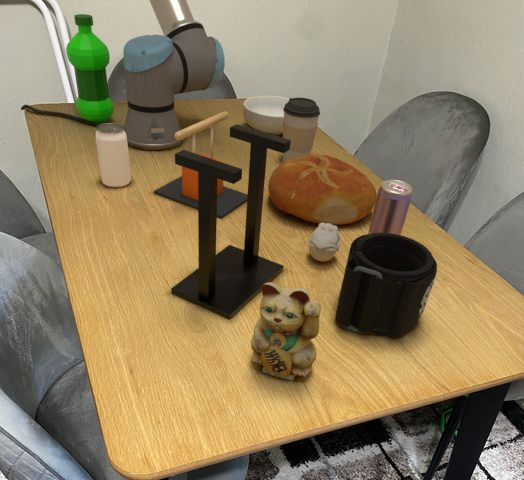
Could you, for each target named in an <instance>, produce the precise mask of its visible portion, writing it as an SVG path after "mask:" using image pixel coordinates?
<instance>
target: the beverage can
mask: <svg viewBox="0 0 524 480" xmlns="http://www.w3.org/2000/svg"><path fill="white" fill-rule="evenodd" d="M412 198H413V186H412V185H410V183H407V182H405V181H402V180H398V179H386V180H383V181H382V182H381V184H380V186H379V188H378V191H377V199H376V203H375V205H374V207H373V210H372V216H371V220H370V224H369V228H368V233H367V234H373V233H392V234H398V235H402V232H403V229H404V225H405V222H406V218H407V215H408V212H409V208H410V205H411V201H412Z"/></svg>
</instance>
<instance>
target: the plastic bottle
mask: <svg viewBox="0 0 524 480" xmlns="http://www.w3.org/2000/svg"><path fill="white" fill-rule="evenodd" d="M73 17H74V24H75V25H76V26H77V28H78V29H77V33H76V34H74V36H73V37H72V38H71V39H70V40H69V41H68V43H66V44H67V45H66V49H65V51H66V56H67V59H68V60H67V61H68V62H69V63H70V65H71V66H73V70H74V77H75V83H76V90H77V97H76V102H75V108H76V110H77V112H78V114H79V115H80V118H82V119H85V120H88V121H91V122H97V123H101V124H105V123H108V120H109V119H110V118H111V117H112V115H113V114H114V110H115V106H114V103H113V100H112V99H111V98H110V95H109V85H108V77H107V66H108V65H109V64H110V58H111V55H110V50H109V48H108V46H107V44H105V42H103V41H102V39H100V38H99V37H98V36H97V35H96V34H95V33H94V32H93V30H92V29H93V28H92V26H94V19H93V15H91V14H85V13H78V14H74V15H73Z"/></svg>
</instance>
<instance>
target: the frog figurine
mask: <svg viewBox="0 0 524 480" xmlns="http://www.w3.org/2000/svg"><path fill="white" fill-rule="evenodd" d="M338 229H339V228H338V225H332V224H330V223H326V224H325V223H320V224H318V226H317V227H316V228H315V229H314V230H313V231H312V233H311V235H310V236H309V238H308V248H309V253H310V255H311V257H312V258H313V259H314V260H315V261H318V262H323V263H325V262H328V261H330V260H331V259H332V258H334V256H335V254H336V253H337V252H338V251H339V250H340V248H341V245H342V244H341V234H340V233H339V231H338Z"/></svg>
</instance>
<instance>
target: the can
mask: <svg viewBox="0 0 524 480" xmlns="http://www.w3.org/2000/svg"><path fill="white" fill-rule="evenodd" d="M123 126H124V125H121V124H119V123H115V122H106V123H104V124H101V125H98V126H96V131H95V143H96V151H97V158H98V165H99V173H100V180H101V183H102V184H103V185H104V186H106V187H109V188H113V189H115V188H124V187H127V186H128V185H129V184H130V183H131V181H132V176H131V166H130V165H131V164H130V158H129V157H130V156H129V155H130V154H129V145H128V144H127V136H126V133H125V131H124V127H123Z"/></svg>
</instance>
